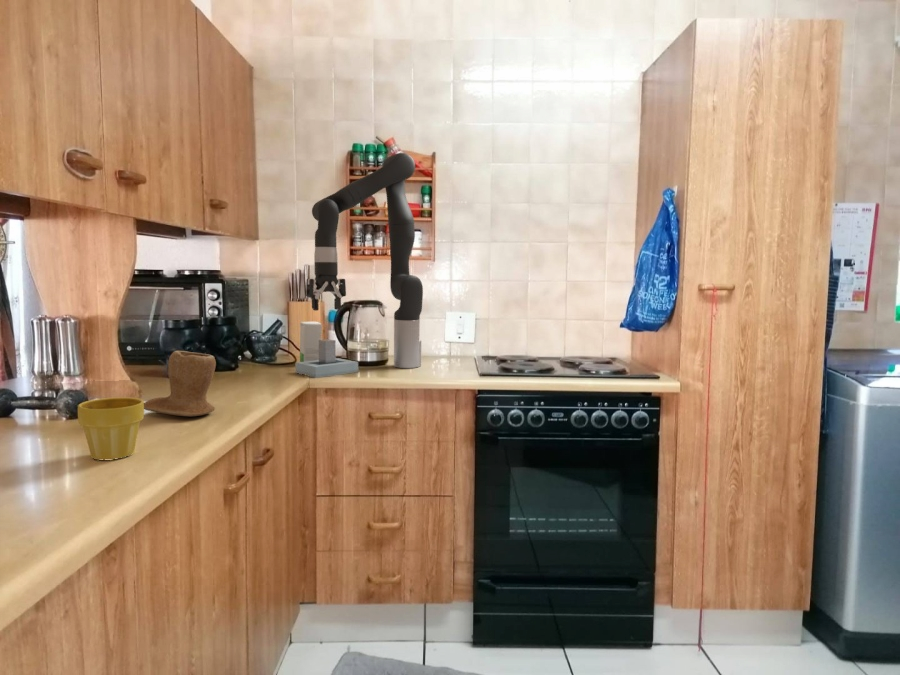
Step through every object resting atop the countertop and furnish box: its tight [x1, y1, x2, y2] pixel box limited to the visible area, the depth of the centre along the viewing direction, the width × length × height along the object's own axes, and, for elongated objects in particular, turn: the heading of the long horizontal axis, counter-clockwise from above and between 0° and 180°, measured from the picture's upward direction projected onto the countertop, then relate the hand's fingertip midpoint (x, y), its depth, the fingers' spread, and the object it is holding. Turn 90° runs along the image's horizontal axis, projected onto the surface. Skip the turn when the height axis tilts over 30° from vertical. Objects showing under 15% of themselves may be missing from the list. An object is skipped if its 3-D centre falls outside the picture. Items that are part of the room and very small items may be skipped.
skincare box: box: [299, 320, 323, 362], centre depth 213 cm, size 8×7×16 cm
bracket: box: [319, 338, 337, 365], centre depth 196 cm, size 9×4×10 cm, turn 137°
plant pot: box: [77, 396, 145, 460], centre depth 105 cm, size 10×10×10 cm
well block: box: [294, 357, 359, 379], centre depth 196 cm, size 17×12×4 cm
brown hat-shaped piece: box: [144, 350, 217, 417], centre depth 136 cm, size 15×12×15 cm
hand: (326, 309), depth 194 cm, fingers open, 8 cm apart
